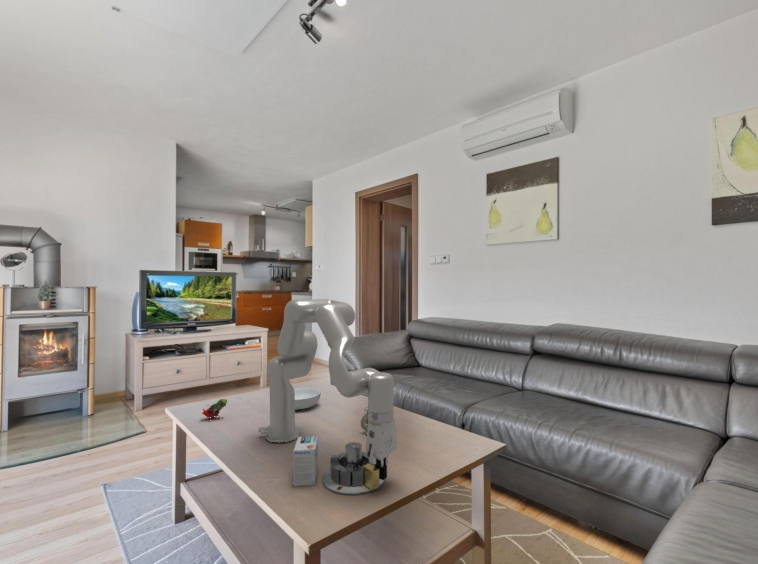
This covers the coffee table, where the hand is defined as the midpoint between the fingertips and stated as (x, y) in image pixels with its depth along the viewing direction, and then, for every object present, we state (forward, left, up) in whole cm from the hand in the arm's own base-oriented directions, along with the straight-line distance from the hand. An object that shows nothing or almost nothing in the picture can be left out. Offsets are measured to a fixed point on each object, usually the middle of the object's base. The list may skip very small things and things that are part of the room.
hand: (380, 477), depth 114 cm
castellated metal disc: (-7, +4, -1) cm, 8 cm away
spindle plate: (-8, +5, -2) cm, 10 cm away
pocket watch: (0, +40, -2) cm, 40 cm away
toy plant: (-69, +65, -2) cm, 95 cm away
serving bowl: (-33, +78, -3) cm, 85 cm away
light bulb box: (-23, +7, -3) cm, 24 cm away
